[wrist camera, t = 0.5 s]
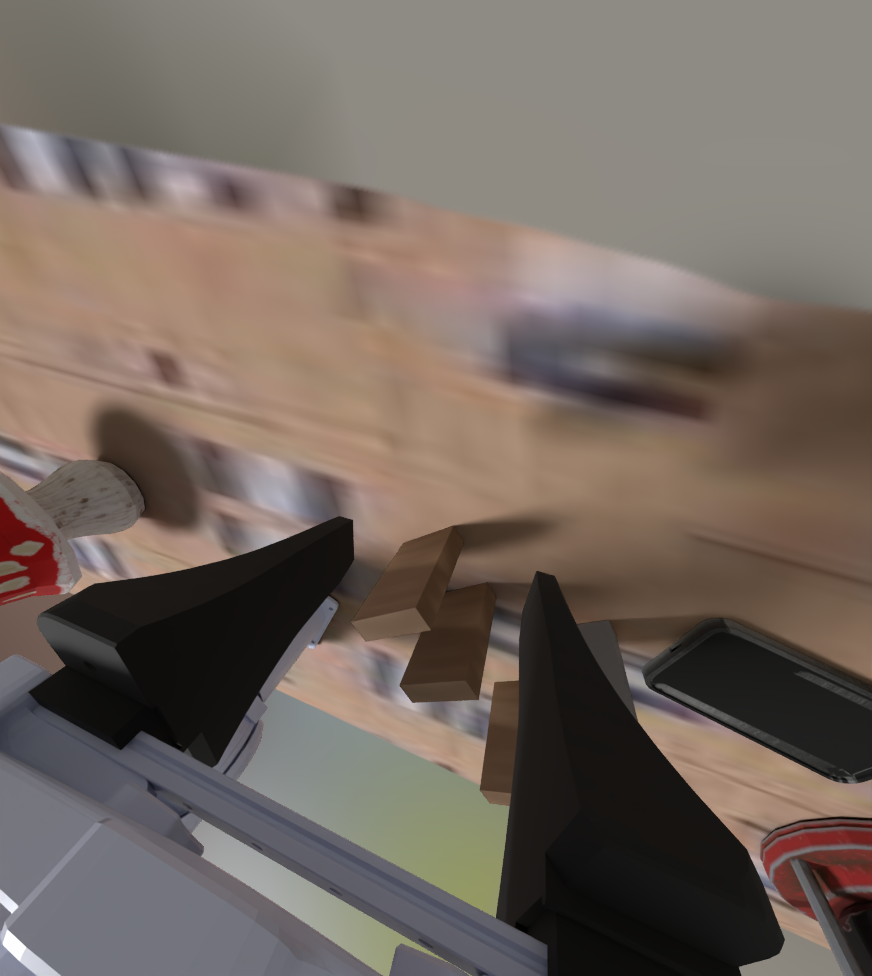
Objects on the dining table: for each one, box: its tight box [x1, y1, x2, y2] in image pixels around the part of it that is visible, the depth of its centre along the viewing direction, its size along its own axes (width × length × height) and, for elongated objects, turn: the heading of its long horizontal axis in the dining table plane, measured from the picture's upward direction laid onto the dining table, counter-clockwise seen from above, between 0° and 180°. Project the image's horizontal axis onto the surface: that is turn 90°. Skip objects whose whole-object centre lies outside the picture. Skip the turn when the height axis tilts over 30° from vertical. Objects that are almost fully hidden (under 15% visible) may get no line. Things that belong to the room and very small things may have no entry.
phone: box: [642, 618, 872, 784], centre depth 21 cm, size 8×1×15 cm
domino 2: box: [399, 583, 496, 703], centre depth 22 cm, size 2×5×8 cm, turn 121°
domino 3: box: [480, 681, 519, 806], centre depth 25 cm, size 2×5×8 cm, turn 121°
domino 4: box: [577, 620, 638, 721], centre depth 20 cm, size 2×5×8 cm, turn 122°
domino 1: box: [351, 526, 464, 641], centre depth 21 cm, size 2×5×8 cm, turn 122°
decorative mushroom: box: [0, 460, 145, 606], centre depth 27 cm, size 14×14×15 cm
